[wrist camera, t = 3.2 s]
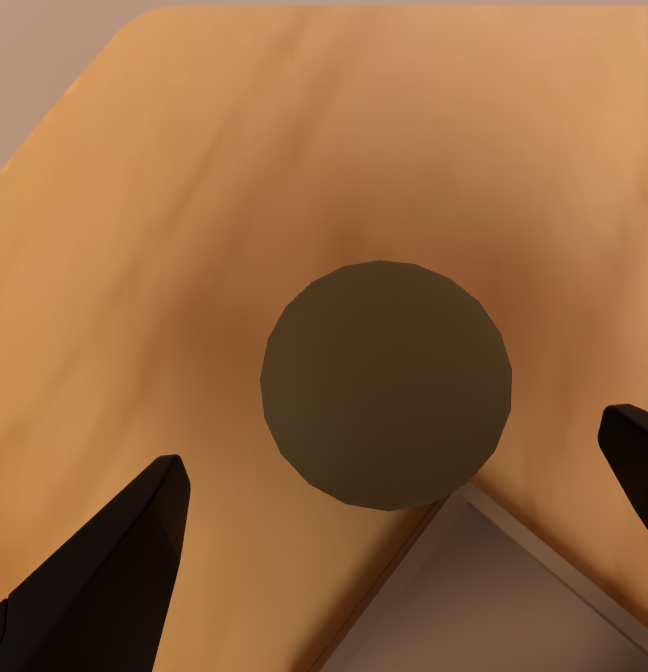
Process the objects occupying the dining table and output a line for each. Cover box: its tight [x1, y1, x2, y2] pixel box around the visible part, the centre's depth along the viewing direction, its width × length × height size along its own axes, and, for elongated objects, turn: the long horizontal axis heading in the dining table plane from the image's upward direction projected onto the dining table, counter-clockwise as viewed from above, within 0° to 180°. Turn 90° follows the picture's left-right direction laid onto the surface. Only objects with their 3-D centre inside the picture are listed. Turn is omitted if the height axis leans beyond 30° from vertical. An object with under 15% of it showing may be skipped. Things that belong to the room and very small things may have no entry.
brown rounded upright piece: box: [260, 260, 512, 511], centre depth 13 cm, size 6×6×11 cm
